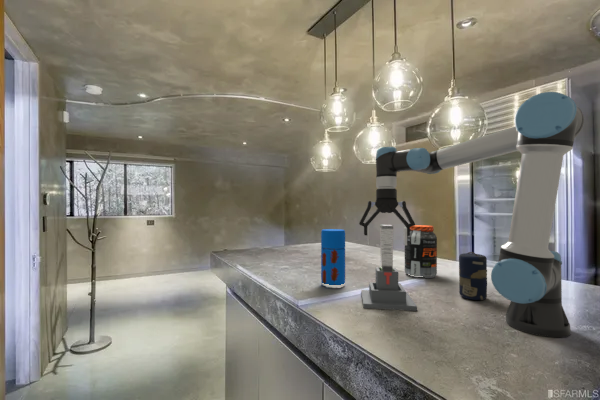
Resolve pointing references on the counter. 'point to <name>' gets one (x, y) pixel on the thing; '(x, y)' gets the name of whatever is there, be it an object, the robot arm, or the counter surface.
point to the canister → (473, 276)
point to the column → (386, 246)
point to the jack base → (387, 292)
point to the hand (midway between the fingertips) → (386, 244)
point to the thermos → (333, 256)
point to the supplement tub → (421, 252)
